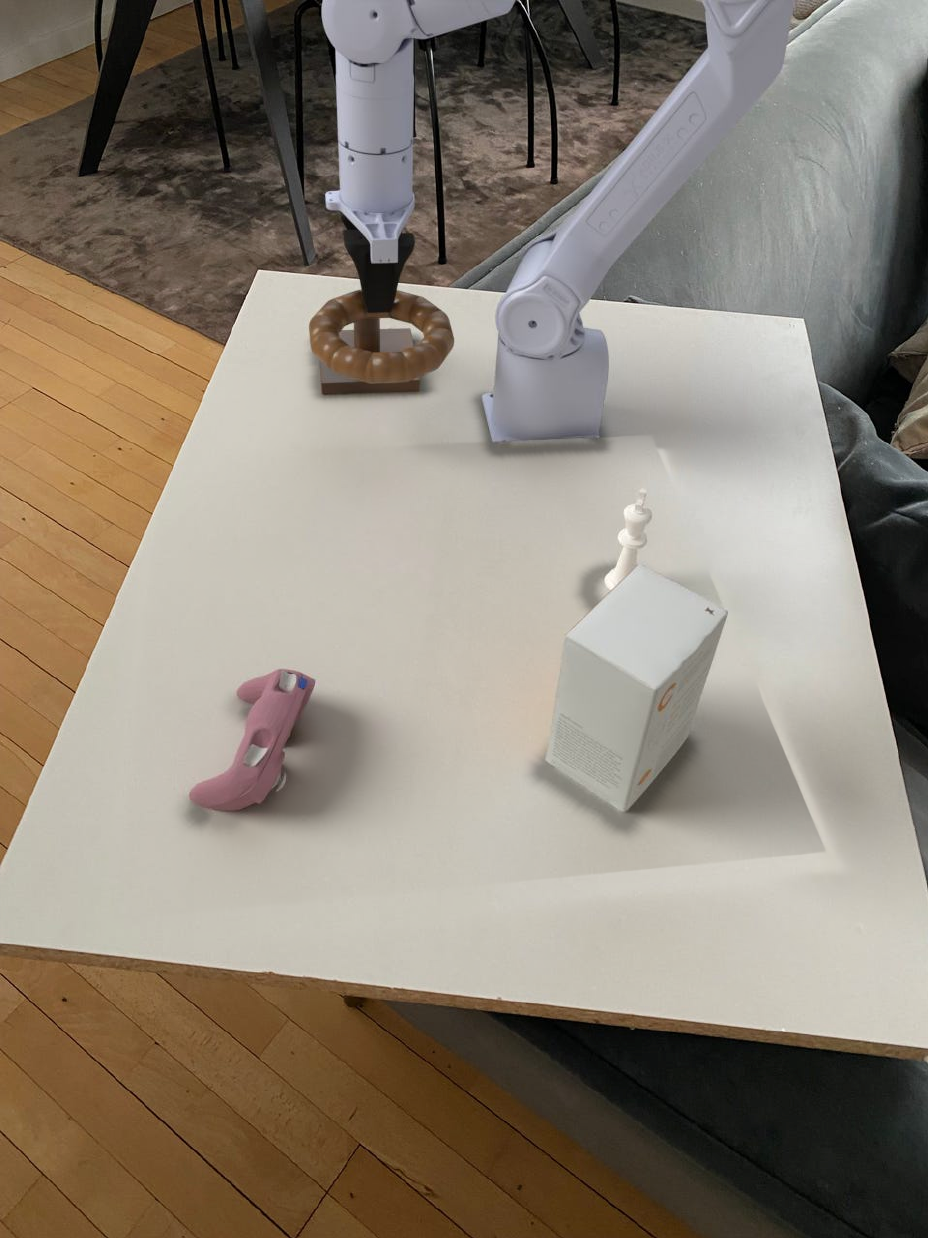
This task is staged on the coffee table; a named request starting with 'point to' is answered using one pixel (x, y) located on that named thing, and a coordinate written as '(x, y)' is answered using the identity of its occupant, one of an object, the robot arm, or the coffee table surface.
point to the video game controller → (259, 742)
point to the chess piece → (630, 539)
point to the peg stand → (371, 340)
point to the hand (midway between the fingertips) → (377, 301)
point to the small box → (631, 684)
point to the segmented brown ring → (381, 363)
